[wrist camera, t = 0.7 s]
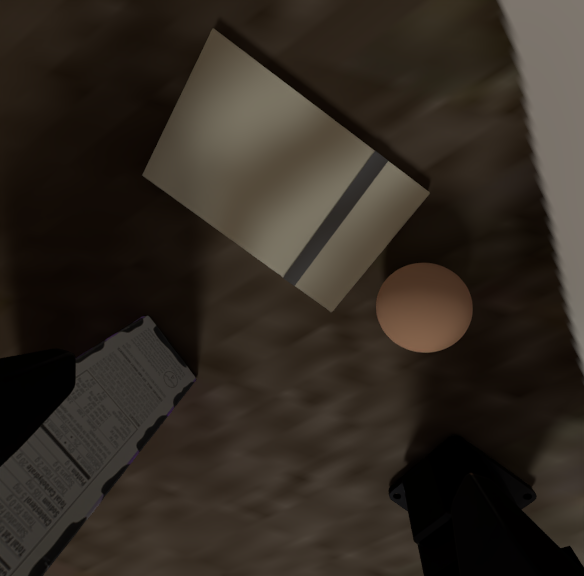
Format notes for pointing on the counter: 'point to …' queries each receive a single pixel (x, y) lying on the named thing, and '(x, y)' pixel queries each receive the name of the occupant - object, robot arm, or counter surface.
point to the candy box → (86, 444)
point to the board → (279, 175)
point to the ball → (424, 307)
